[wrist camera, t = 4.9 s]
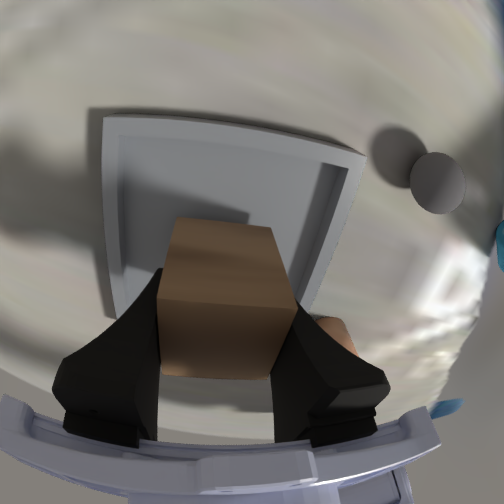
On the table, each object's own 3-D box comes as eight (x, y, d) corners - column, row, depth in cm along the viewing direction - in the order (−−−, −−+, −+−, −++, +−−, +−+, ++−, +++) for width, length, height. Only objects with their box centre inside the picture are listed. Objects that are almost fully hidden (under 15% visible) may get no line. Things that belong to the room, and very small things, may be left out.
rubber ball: (428, 203, 15) (461, 230, 12) (390, 191, 15) (424, 219, 12) (446, 155, 13) (484, 175, 11) (409, 137, 13) (449, 155, 10)
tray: (286, 334, 20) (290, 350, 19) (125, 322, 18) (121, 338, 17) (354, 149, 13) (367, 157, 12) (115, 113, 11) (103, 117, 9)
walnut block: (252, 296, 16) (266, 379, 11) (173, 289, 15) (162, 374, 10) (270, 227, 13) (298, 308, 9) (176, 216, 13) (156, 297, 8)
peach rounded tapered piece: (333, 348, 23) (347, 386, 19) (291, 349, 22) (301, 390, 18) (352, 316, 20) (371, 356, 17) (306, 316, 20) (321, 360, 16)
